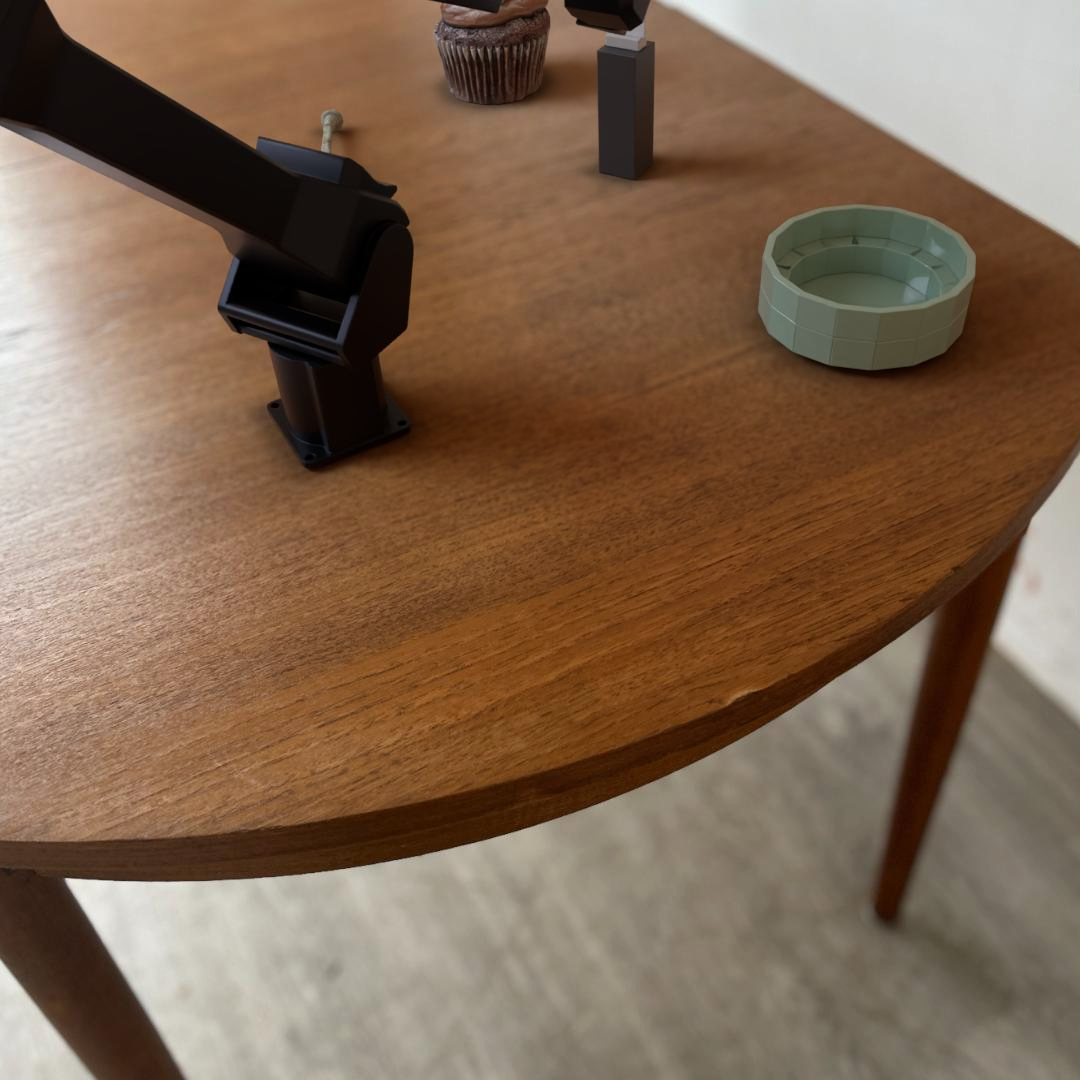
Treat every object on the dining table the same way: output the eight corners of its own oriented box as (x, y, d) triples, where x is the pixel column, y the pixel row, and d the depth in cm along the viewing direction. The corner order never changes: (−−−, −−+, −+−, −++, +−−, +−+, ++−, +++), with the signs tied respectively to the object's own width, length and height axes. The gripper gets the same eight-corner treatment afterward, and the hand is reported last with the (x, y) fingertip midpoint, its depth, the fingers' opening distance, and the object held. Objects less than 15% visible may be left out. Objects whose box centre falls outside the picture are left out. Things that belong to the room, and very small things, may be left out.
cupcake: (485, 53, 106) (475, -68, 99) (575, 75, 101) (571, -50, 94) (415, 93, 100) (400, -32, 93) (507, 118, 96) (498, -12, 89)
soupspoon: (278, 283, 80) (375, 278, 81) (270, 239, 78) (371, 234, 79) (294, 130, 96) (376, 126, 96) (287, 89, 93) (371, 86, 94)
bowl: (1003, 335, 71) (1021, 269, 68) (844, 402, 67) (855, 335, 64) (869, 249, 79) (879, 186, 76) (720, 305, 75) (724, 240, 72)
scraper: (634, 180, 87) (635, -10, 78) (598, 172, 88) (595, -17, 79) (653, 163, 89) (656, -25, 80) (617, 155, 90) (616, -31, 81)
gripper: (660, -279, 56) (741, -94, 70) (344, -296, 63) (476, -126, 78) (583, -47, 57) (679, 89, 71) (280, -90, 64) (422, 41, 78)
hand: (560, 16), depth 74 cm, fingers open, 9 cm apart
